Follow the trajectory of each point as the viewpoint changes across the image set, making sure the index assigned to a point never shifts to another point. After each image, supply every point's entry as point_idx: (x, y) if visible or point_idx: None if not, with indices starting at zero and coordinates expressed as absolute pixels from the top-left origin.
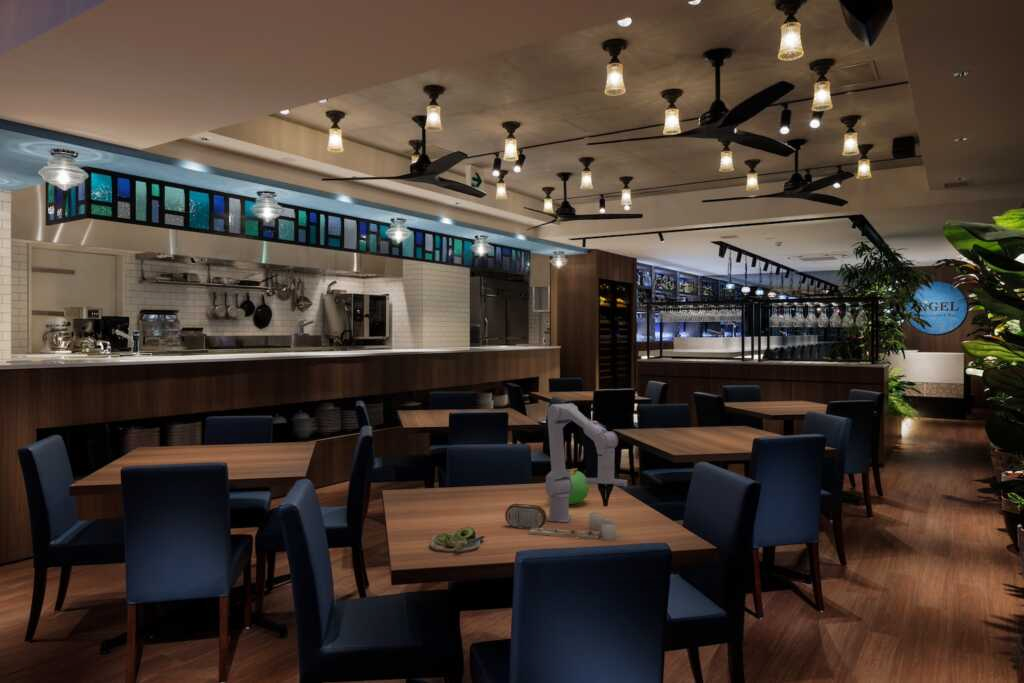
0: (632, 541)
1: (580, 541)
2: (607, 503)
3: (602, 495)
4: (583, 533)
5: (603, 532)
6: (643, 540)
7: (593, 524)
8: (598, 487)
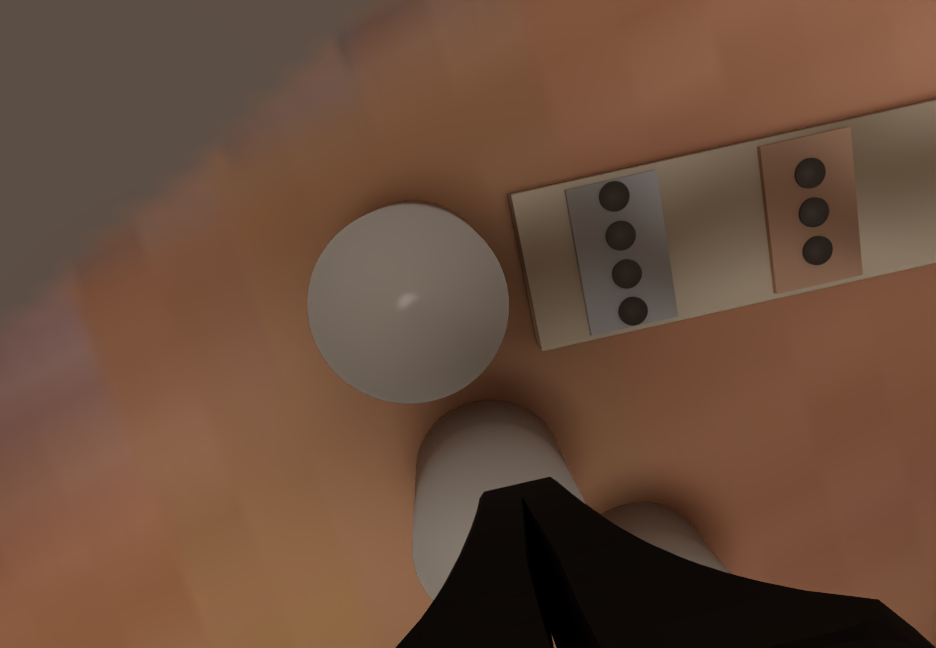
0: (156, 299)
1: (660, 34)
2: (477, 513)
3: (631, 556)
4: (692, 236)
5: (455, 215)
6: (68, 387)
7: (667, 531)
8: (930, 644)
